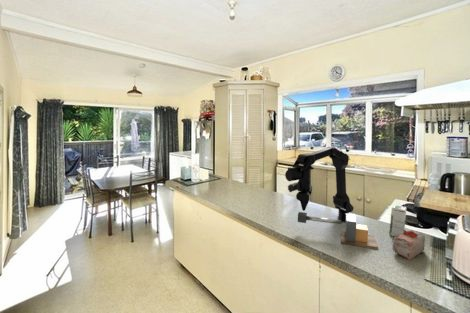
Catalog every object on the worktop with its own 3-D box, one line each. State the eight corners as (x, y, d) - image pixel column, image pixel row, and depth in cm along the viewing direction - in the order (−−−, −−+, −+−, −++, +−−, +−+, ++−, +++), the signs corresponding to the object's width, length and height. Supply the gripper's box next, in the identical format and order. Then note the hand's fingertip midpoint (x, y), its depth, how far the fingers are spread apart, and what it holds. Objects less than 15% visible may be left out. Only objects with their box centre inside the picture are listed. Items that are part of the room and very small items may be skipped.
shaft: (298, 219, 127) (298, 211, 126) (341, 224, 119) (341, 216, 118) (297, 222, 123) (297, 214, 122) (341, 227, 115) (341, 219, 115)
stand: (340, 232, 123) (341, 212, 122) (373, 237, 118) (375, 216, 116) (341, 243, 112) (342, 221, 111) (378, 249, 107) (379, 225, 105)
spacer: (354, 235, 118) (354, 223, 117) (365, 237, 116) (366, 225, 115) (355, 240, 113) (356, 228, 112) (367, 242, 111) (368, 230, 110)
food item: (411, 262, 96) (413, 239, 95) (390, 253, 103) (391, 232, 102) (426, 252, 104) (428, 230, 102) (405, 244, 110) (406, 224, 109)
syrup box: (390, 231, 124) (392, 204, 122) (404, 234, 120) (406, 206, 118) (389, 235, 119) (391, 207, 118) (403, 238, 116) (405, 210, 114)
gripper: (291, 174, 135) (291, 200, 138) (285, 182, 118) (286, 212, 120) (312, 174, 131) (312, 202, 133) (309, 183, 114) (309, 214, 116)
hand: (304, 207), depth 126 cm, fingers open, 9 cm apart
